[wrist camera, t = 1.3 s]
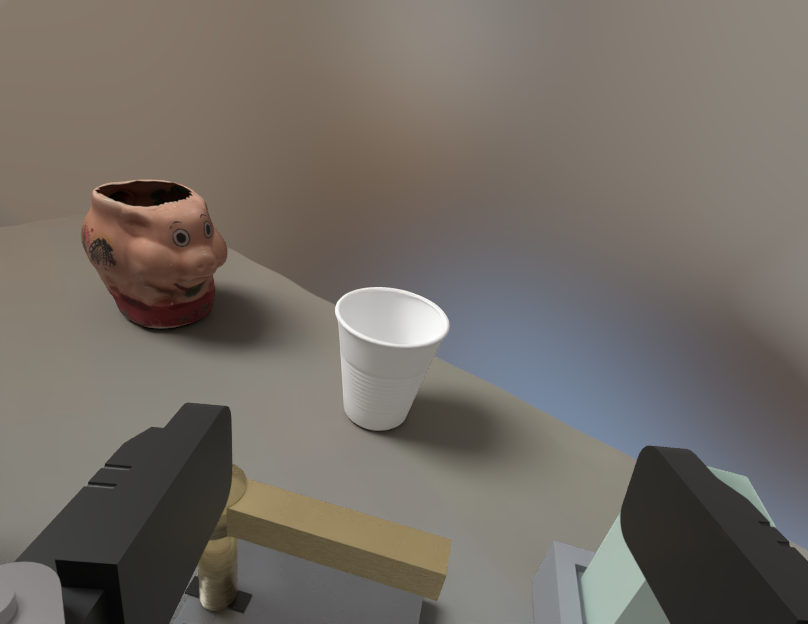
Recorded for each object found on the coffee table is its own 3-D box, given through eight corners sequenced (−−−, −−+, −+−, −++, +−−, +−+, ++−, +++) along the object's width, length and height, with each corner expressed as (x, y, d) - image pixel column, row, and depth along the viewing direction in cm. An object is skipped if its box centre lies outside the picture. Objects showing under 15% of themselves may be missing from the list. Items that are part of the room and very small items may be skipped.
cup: (437, 446, 43) (466, 347, 38) (328, 452, 40) (343, 346, 35) (411, 378, 51) (431, 289, 46) (319, 379, 49) (329, 284, 43)
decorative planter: (48, 291, 54) (21, 168, 47) (146, 262, 64) (135, 156, 57) (171, 361, 47) (160, 229, 40) (259, 316, 57) (262, 204, 50)
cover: (677, 685, 25) (795, 561, 20) (589, 658, 26) (681, 528, 20) (654, 599, 29) (746, 477, 24) (578, 576, 30) (653, 451, 24)
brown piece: (181, 609, 26) (170, 499, 22) (210, 562, 28) (205, 455, 24) (408, 684, 25) (445, 584, 20) (417, 629, 27) (452, 529, 23)
